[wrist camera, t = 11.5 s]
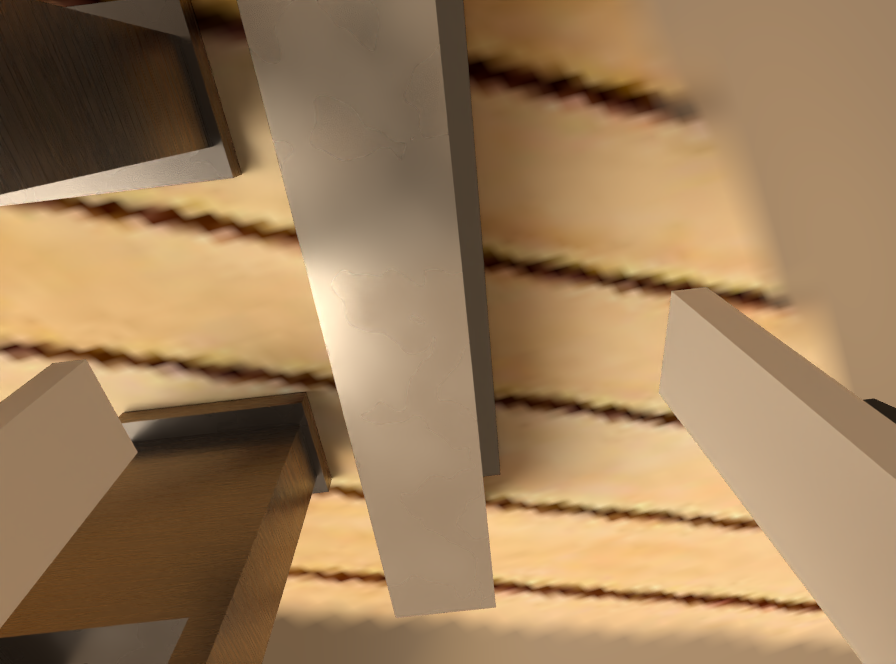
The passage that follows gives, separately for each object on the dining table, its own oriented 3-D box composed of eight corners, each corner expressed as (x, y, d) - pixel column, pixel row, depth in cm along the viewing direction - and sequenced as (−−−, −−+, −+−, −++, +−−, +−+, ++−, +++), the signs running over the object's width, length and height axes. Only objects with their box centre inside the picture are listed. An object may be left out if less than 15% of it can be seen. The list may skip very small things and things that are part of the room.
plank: (252, -31, 14) (247, -35, 13) (457, -58, 13) (458, -62, 13) (375, 482, 23) (374, 488, 22) (499, 468, 22) (500, 474, 22)
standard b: (122, 412, 20) (-223, 768, 9) (306, 392, 20) (166, 729, 9) (166, 497, 22) (-73, 863, 12) (331, 478, 22) (242, 831, 12)
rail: (263, -130, 12) (169, -260, 8) (414, -150, 12) (406, -291, 8) (401, 517, 23) (395, 617, 19) (482, 508, 23) (495, 607, 19)
